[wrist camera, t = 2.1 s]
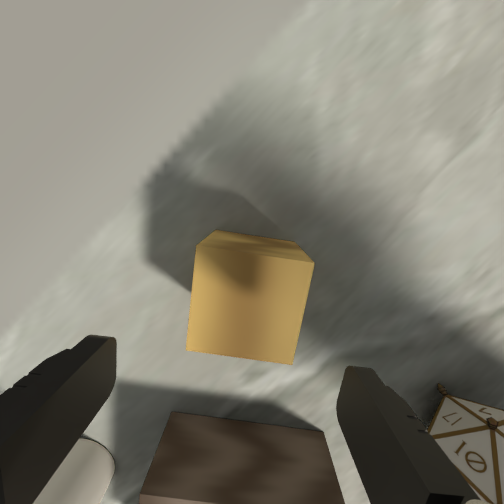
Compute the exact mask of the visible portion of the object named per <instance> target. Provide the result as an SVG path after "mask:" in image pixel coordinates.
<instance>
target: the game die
mask: <svg viewBox="0 0 504 504" xmlns="http://www.w3.org/2000/svg"><path fill="white" fill-rule="evenodd" d="M438 389H439V391H440V393H442V394H443V398H442V400H441V402H440V404H439V406H438V408H437V410H436V412H435V415H434V417H433V419H432V421H431V423H430V425H429V427H428V429H427V430H428V434H431V435H432V437H433V438H434V439H435V441H436V442H437V443H438V445H439V446H440V447H441V448H442V450H443V451H444V452H445V454H446V455H447V456H448V458H449V459H450V460H451V462H452V463H453V464H454V465H455V467H456V468H457V469H458V471H459V472H460V473H461V475H462V476H463V477H464V478H465V480H466V481H467V482H468V484H469V485H470V486H471V488H472V489H473V490H474V492H475V493H476V494H477V495H478V497H479V498H480V499H481V500H482V501H485V502H488V503H490V504H504V410H502V409H498V408H495V407H491V406H487V405H484V404H480V403H477V402H473V401H469V400H466V399H462V398H458V397H455V396H451V395H448V394H447V392H446V390H445V387H443V386H442V385H440V384H439V383H438Z"/></svg>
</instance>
